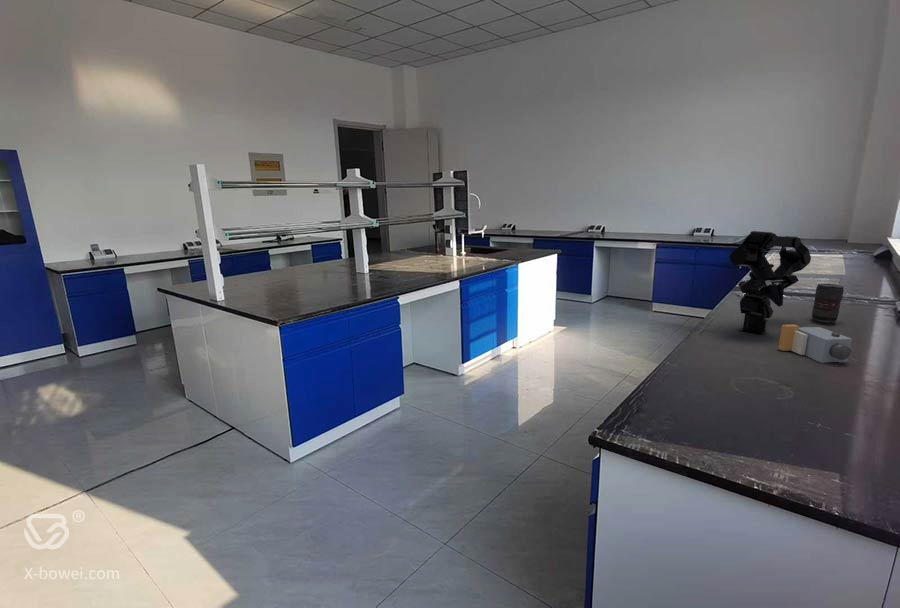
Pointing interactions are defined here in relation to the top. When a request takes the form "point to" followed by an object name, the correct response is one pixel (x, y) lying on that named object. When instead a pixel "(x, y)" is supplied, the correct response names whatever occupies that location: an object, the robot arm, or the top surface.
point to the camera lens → (827, 303)
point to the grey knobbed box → (826, 345)
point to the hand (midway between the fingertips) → (780, 306)
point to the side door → (792, 339)
